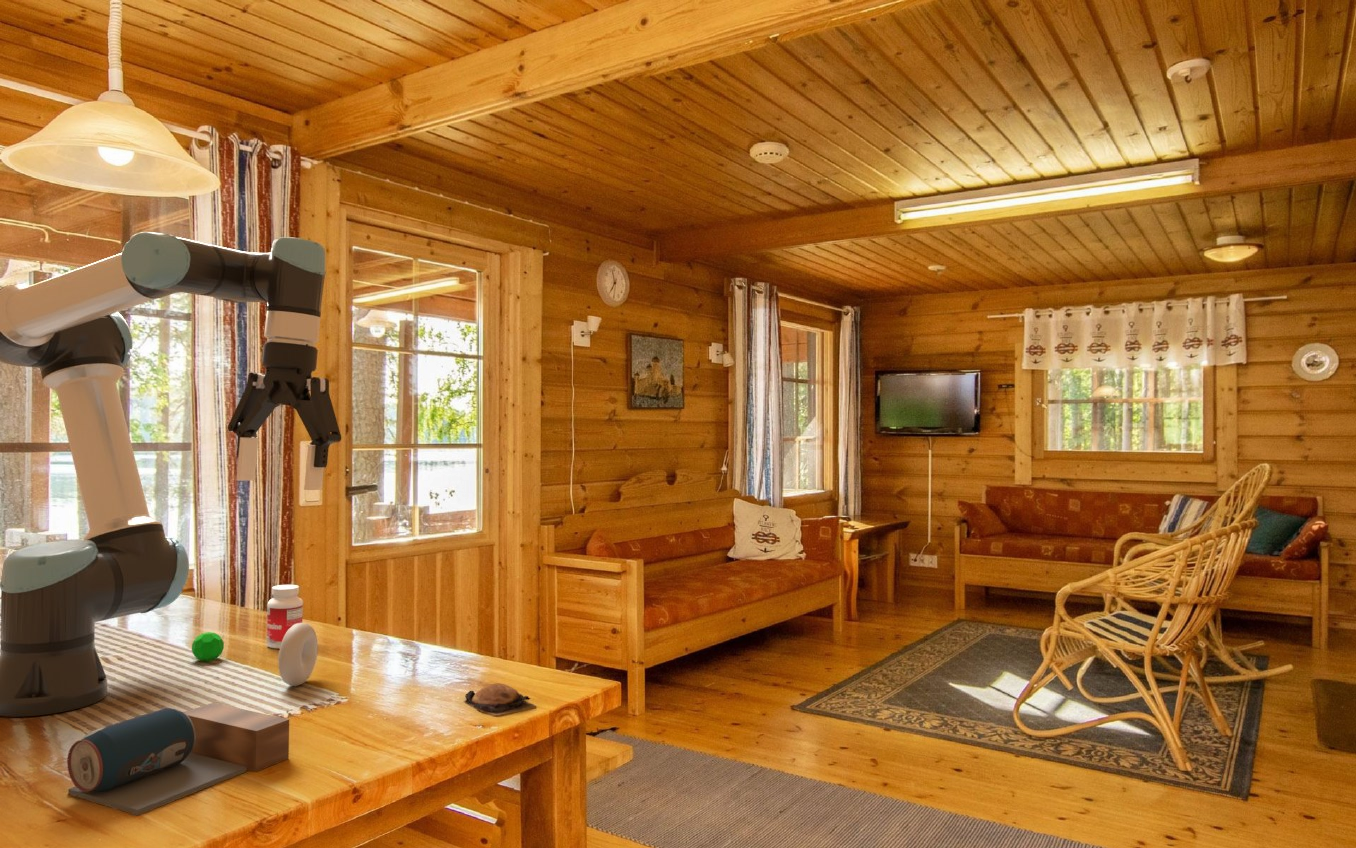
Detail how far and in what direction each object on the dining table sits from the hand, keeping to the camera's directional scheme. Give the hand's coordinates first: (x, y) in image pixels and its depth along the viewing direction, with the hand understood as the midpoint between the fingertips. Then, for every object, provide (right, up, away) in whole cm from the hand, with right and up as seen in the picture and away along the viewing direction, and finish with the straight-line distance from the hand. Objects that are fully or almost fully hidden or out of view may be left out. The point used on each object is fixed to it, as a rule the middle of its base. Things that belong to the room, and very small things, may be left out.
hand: (278, 485), depth 137 cm
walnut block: (+3, -33, -19) cm, 39 cm away
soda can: (-2, -29, -23) cm, 37 cm away
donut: (-2, -33, +11) cm, 35 cm away
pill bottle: (-15, -33, +36) cm, 51 cm away
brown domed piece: (+32, -35, +4) cm, 47 cm away
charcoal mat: (-2, -33, -28) cm, 44 cm away
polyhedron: (-23, -33, +25) cm, 47 cm away
